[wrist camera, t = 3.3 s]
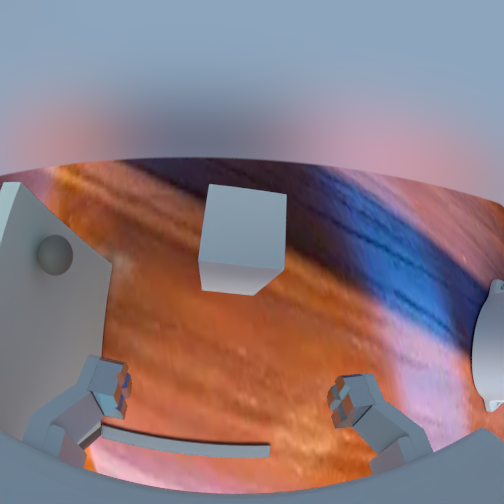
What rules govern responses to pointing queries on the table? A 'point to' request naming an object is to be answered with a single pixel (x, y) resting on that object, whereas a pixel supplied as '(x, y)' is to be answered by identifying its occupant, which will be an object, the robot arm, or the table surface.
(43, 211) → the door
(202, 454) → the wall
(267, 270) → the light grey block
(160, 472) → the table surface
